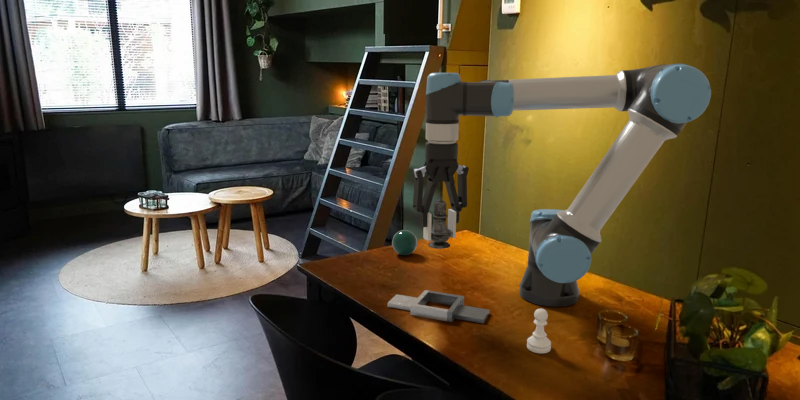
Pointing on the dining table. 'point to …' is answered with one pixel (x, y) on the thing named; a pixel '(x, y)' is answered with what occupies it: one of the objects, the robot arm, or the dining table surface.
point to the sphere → (404, 242)
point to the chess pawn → (539, 334)
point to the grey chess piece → (439, 226)
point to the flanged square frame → (436, 313)
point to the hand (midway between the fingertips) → (439, 237)
